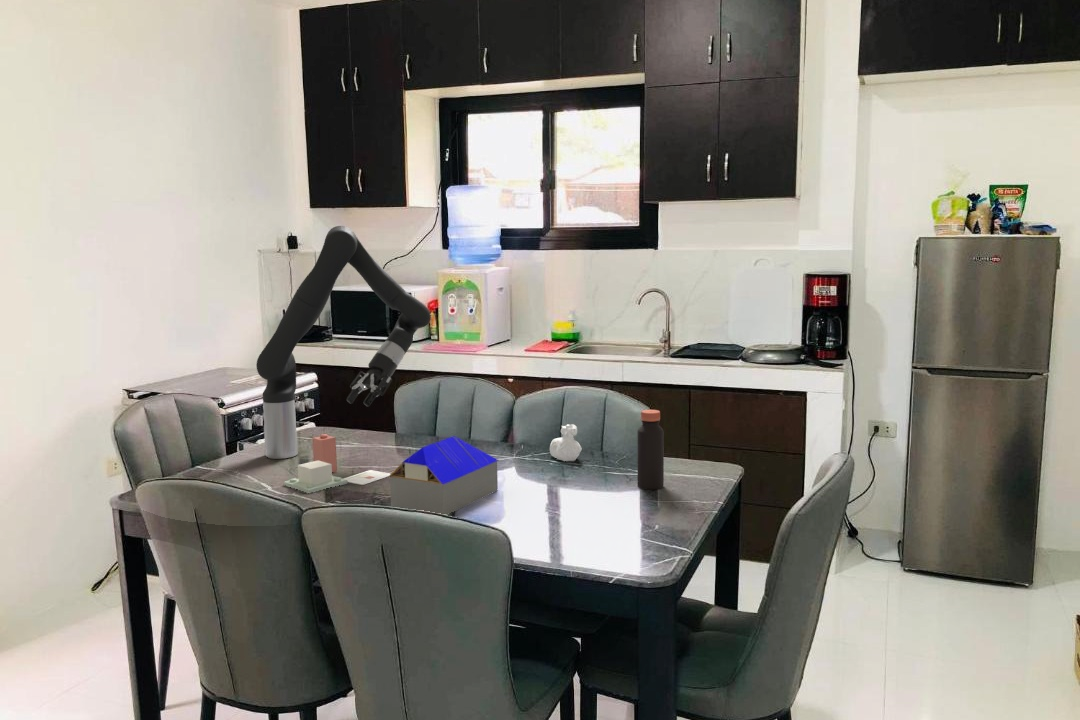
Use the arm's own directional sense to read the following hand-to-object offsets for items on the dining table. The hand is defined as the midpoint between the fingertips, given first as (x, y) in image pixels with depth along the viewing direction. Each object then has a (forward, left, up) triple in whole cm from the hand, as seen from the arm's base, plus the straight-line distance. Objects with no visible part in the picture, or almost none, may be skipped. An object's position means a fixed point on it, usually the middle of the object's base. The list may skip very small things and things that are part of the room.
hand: (357, 403), depth 250 cm
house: (+46, -6, -19) cm, 50 cm away
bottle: (+78, +36, -18) cm, 88 cm away
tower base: (+9, -20, -18) cm, 29 cm away
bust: (+43, +44, -18) cm, 64 cm away
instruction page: (+14, -7, -18) cm, 24 cm away
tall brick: (0, -11, -18) cm, 21 cm away
